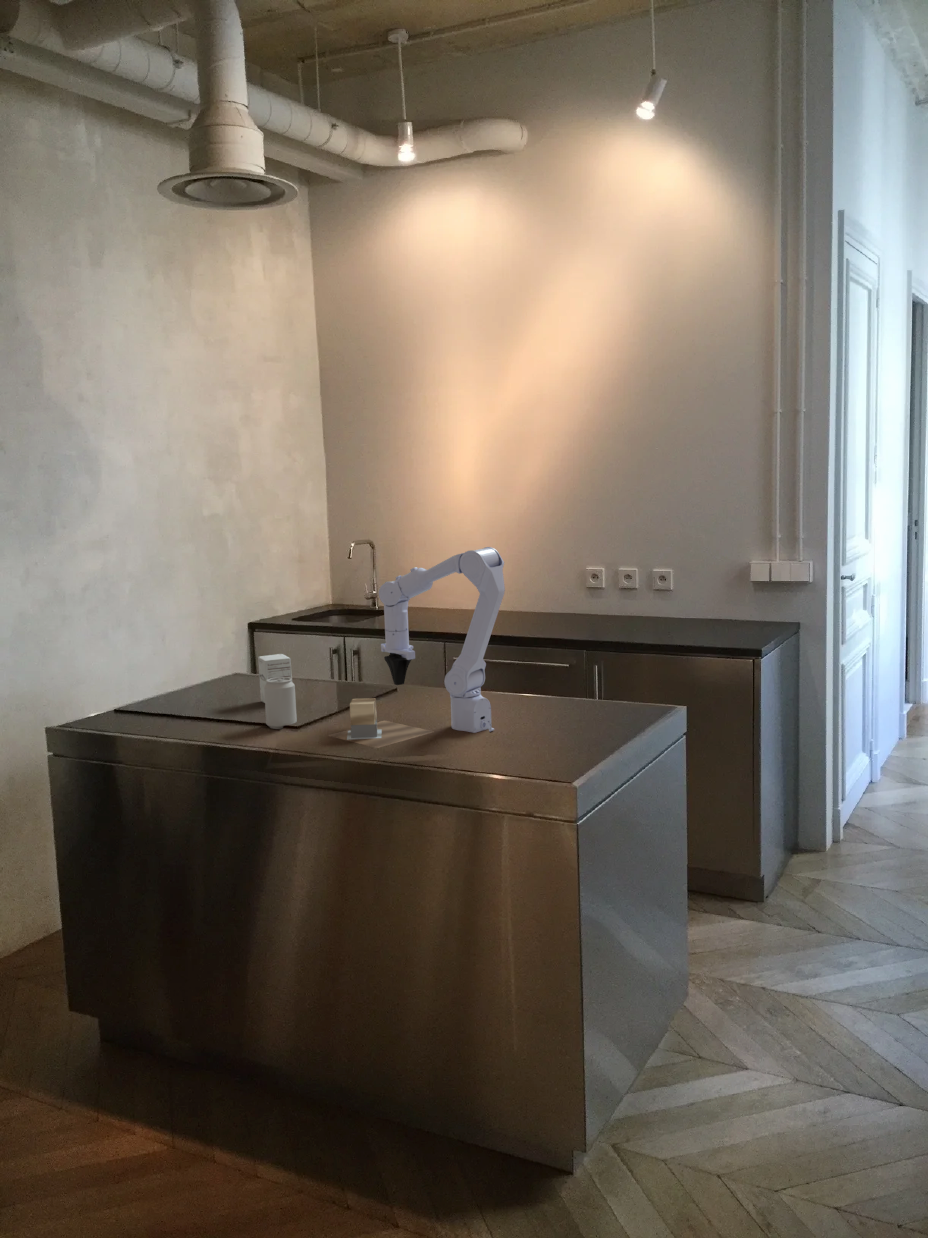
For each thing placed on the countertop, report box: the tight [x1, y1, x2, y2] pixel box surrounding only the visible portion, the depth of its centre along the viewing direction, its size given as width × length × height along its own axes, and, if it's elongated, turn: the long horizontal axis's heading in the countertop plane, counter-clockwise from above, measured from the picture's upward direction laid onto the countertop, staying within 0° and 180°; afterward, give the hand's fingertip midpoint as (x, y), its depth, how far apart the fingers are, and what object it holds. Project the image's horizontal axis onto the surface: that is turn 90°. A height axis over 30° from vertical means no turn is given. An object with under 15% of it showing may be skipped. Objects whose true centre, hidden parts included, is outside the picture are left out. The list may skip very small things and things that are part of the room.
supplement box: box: [257, 653, 293, 704], centre depth 299 cm, size 7×7×13 cm
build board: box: [327, 720, 435, 749], centre depth 259 cm, size 18×18×1 cm
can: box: [264, 677, 298, 730], centre depth 272 cm, size 8×8×12 cm
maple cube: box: [349, 697, 378, 726], centre depth 258 cm, size 6×6×5 cm
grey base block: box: [350, 719, 378, 738], centre depth 258 cm, size 6×6×3 cm
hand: (399, 684), depth 270 cm, fingers closed
